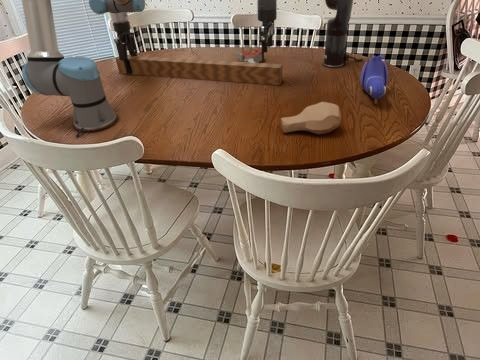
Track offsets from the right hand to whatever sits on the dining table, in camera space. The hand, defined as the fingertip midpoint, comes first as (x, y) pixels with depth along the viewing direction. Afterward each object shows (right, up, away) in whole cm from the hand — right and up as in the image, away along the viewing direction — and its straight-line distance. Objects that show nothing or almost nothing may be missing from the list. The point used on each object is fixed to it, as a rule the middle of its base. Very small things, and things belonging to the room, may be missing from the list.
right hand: (267, 49), depth 149 cm
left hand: (-65, -1, +28) cm, 71 cm away
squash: (+12, -38, -29) cm, 49 cm away
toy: (+41, -22, -10) cm, 47 cm away
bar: (-32, -6, +18) cm, 38 cm away
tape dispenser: (-6, +3, +28) cm, 29 cm away
